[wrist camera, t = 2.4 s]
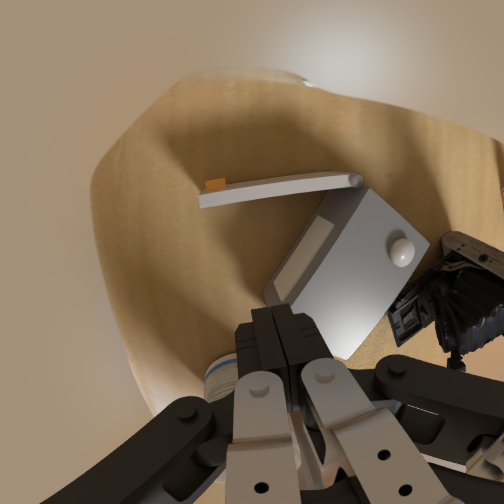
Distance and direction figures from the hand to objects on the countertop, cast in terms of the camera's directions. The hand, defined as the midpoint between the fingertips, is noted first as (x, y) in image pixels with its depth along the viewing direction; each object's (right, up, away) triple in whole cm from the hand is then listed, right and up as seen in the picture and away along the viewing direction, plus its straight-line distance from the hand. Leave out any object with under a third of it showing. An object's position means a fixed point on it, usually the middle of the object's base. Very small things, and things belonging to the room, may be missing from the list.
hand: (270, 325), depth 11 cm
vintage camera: (+23, -1, +21) cm, 31 cm away
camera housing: (+7, +1, +19) cm, 20 cm away
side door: (+1, +10, +15) cm, 18 cm away
